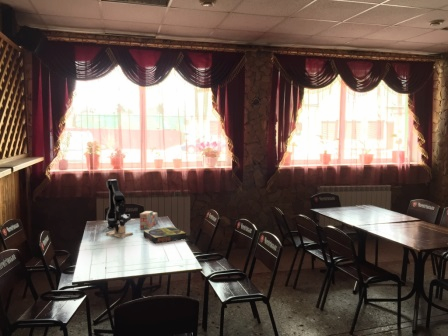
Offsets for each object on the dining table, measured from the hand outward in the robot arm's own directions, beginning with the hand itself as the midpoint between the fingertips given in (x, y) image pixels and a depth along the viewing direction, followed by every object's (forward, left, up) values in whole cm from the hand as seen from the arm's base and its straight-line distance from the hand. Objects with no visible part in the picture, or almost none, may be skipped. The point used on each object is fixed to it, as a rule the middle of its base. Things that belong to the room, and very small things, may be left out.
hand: (119, 231), depth 306 cm
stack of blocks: (0, +34, -3) cm, 34 cm away
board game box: (+35, +10, -4) cm, 37 cm away
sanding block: (0, 0, -1) cm, 1 cm away
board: (-1, 0, -3) cm, 3 cm away
